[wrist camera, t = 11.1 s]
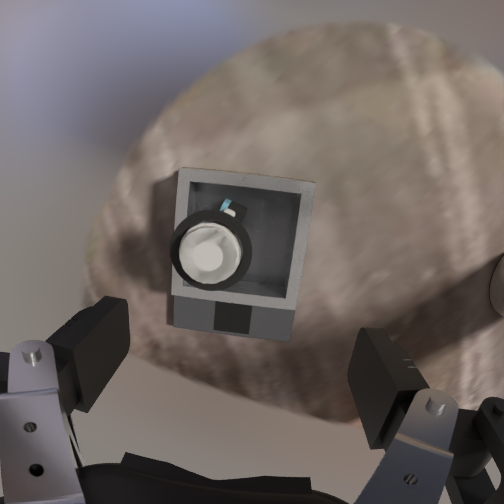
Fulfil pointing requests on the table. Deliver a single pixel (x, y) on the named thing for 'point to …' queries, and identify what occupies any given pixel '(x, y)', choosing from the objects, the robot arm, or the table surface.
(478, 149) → the table surface
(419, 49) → the table surface
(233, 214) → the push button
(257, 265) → the gray open box
